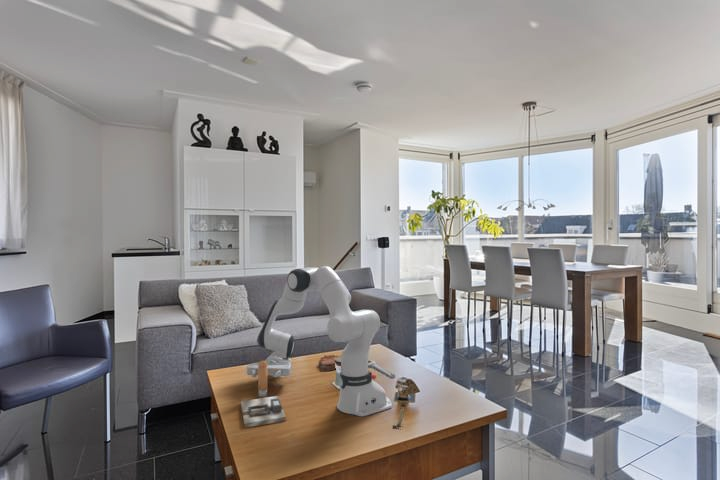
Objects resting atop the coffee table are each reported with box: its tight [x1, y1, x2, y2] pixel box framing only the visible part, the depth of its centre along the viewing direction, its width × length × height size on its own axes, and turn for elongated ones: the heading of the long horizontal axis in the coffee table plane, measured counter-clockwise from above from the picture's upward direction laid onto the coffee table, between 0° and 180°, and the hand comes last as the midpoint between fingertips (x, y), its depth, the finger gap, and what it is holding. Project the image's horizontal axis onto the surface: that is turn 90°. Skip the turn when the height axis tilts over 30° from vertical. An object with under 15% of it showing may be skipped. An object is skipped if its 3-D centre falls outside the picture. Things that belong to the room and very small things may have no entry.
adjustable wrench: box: [368, 359, 396, 379], centre depth 200 cm, size 25×6×2 cm, turn 26°
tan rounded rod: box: [257, 359, 269, 398], centre depth 168 cm, size 4×4×15 cm
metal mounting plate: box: [240, 395, 287, 429], centre depth 153 cm, size 15×20×2 cm
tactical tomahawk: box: [392, 401, 407, 430], centre depth 150 cm, size 21×7×1 cm, turn 166°
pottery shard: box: [318, 354, 340, 372], centre depth 207 cm, size 16×16×4 cm
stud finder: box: [271, 397, 282, 413], centre depth 153 cm, size 3×7×2 cm, turn 21°
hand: (264, 375), depth 170 cm, fingers open, 8 cm apart
